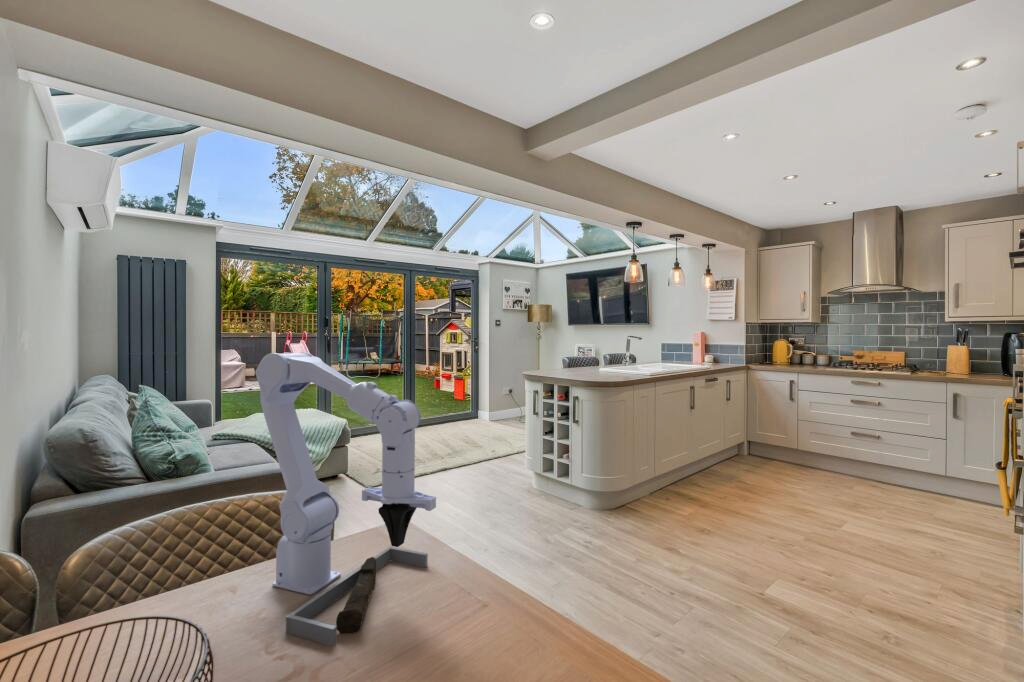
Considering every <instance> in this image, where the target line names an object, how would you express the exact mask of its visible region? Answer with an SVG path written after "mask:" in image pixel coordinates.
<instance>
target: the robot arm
mask: <svg viewBox="0 0 1024 682" xmlns="http://www.w3.org/2000/svg"><path fill="white" fill-rule="evenodd" d="M255 376H256V380H257V383H258V386H259V390H260V397H259V398H260V400H259V401H260V406H261V409H262V413H263V415H264V420H265V423H266V426H267V429H268V432H269V435H270V439H271V442H272V445H273V449H274V452H275V453H274V454H275V456H276V459H277V461H278V462H277V463H278V465H279V468H280V469H279V470H280V472H281V474H282V478H283V483H284V485H285V488H286V492H285V494H284V495H283V497H282V499H281V500H280V503H279V506H278V508H279V511H280V529H281V532H282V533H283V535H282V537H281V538H280V539H279V541H278V543H277V546H276V553H275V555H276V556H275V557H276V558H275V559H276V561H275V569H276V570H275V581H273V582H272V586H273V587H277V588H281V589H285V590H288V591H294V592H297V593H300V594H301V593H302V594H306V595H313V594H315V593H317V592H318V591H320V590H321V589H323V588H324V587H325V586H327V585H329V584H330V583H332V582H333V581H335V580H336V579H338V578H339V577H341V576H342V574H341V572H338V571H335V570H331V569H332V568H331V567H332V566H331V565H332V563H331V561H332V560H331V558H332V557H331V556H332V555H331V553H332V549H331V548H332V529H334V528H333V527H334V526H333V523H335V522H336V521H337V519H338V517H339V516H340V515H339V513H340V506H339V503H338V500H337V499H336V497H334V495H333V494H332V493H331V490H330V487H329V485H328V484H326V483H324V482H322V481H320V480H319V479H318V478H317V475H316V471H315V469H314V466H313V463H312V462H313V461H312V459H311V456H310V452H309V449H308V446H307V443H306V439H305V437H304V436H305V435H304V433H303V430H302V426H301V424H300V420H299V417H298V413H297V411H296V408H295V402H296V401H297V398H298V397H299V395H300V394H301V393H302V392H303V391H304V390H305V389H307V387H308V386H309V385H310V384H311V383H313V384H314V385H317V386H319V387H321V388H323V389H325V390H327V391H329V392H330V393H333V394H335V395H337V396H339V397H340V398H343V399H345V400H346V404H347V408H348V409H349V410H351V411H352V412H354V413H356V414H357V415H360V416H361V417H363V418H365V419H366V420H368V421H370V422H372V423H373V424H375V426H376V428H377V430H378V432H379V433H380V436H381V443H382V444H381V445H382V453H381V454H382V455H381V457H382V459H381V461H382V462H381V487H370V486H369V487H366V488H364V489H362V490H361V501H364V502H368V501H373V502H378V503H379V502H380V503H381V504H382V506H380V507H379V508H378V514H379V516H380V517H381V519H382V521H383V522H384V525H385V528H386V529H387V533H388V537H389V541H390V544H391V545H390V546H391V547H395V548H400V546H401V545H403V544H405V540H406V534H407V531H408V528H409V524H410V523H411V520H412V517H413V515H414V513H415V512H416V510H417V508H418V509H424V510H425V511H427V512H431V511H433V510H434V509H436V508H437V496H433V495H429V494H426V493H423V492H420V491H417V490H415V481H416V480H415V475H416V474H415V471H416V470H415V469H416V465H415V463H416V459H415V458H416V430H415V429H416V428H417V427H418V426H419V424H420V423H421V412H420V409H419V408H418V405H416V404H415V403H414V402H413V401H412V400H410V399H402V400H399V399H398V396H397V395H395V394H389V393H387V392H385V391H384V390H382V389H379V388H378V387H377V386H378V384H377V383H376V382H374V381H368V382H367V381H361V382H358V383H357V382H354V381H353V380H352V379H350V378H348V377H347V376H345V375H344V374H342V373H341V372H339V371H338V370H336V369H335V368H333V367H331V366H330V365H328V364H327V363H325V362H324V361H323V360H322V359H321V358H320V357H318V356H314V355H313V354H311V353H310V352H306V351H305V352H303V351H301V352H297V353H296V352H295V353H293V352H291V353H279V352H278V353H277V352H269V353H267V354H266V355H265V356H263V358H262V359H261V360H260V362H259V364H258V366H257V367H256V370H255ZM307 499H308V500H307Z"/></svg>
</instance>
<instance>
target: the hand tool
mask: <svg viewBox="0 0 1024 682" xmlns="http://www.w3.org/2000/svg"><path fill="white" fill-rule="evenodd" d="M374 557H375V556H371V557H368V558H366V560H365V561H364V563H363V564H362V565H361V566H362V567H361V569H360V576H359V578H358V580H357V583H356V584H355V586H354V587H353V588H352V589H351V590H352V591H351V592H350V594H349V597H347V600H346V603H345V605H344V607H343V609H342V610H341V611H339V612H338V614H337V616H336V619H335V620H336V621H335V624H336V625H335V626H337V631H338V633H339V634H341V635H342V634H345V635H347V634H349V635H350V634H356V633H358V632H360V631H361V628H362V623H363V621H364V614H365V613H366V609H367V607H368V605H369V601H370V598H371V595H372V592H373V591H374V590H375V588H376V582H377V574H378V573H377V571H376V560H375V558H374Z"/></svg>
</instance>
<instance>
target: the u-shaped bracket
mask: <svg viewBox="0 0 1024 682" xmlns="http://www.w3.org/2000/svg"><path fill="white" fill-rule="evenodd" d="M428 555H429V554H428V553H427V552H423V551H422V552H421V551H415V550H412V549H411V550H410V549H406V548H405V549H404V548H400V547H395V546H389V547H387V548H386V549H384V550H382V551H380V552H379V553H378V554H376V555H375V556H373V557H374V558H375V560H376V572H377V571H378V570H379V569H381V568H383V567H384V566H385V565H387V564H388V563H390V562H391V561H390V560H392V562H395V561H397V563H400V562H401V564H405V563H407V564H406V565H411V564H412V566H416V565H418V566H417V567H421V566H424V567H423V568H426V566H427V567H428ZM386 563H387V564H386ZM361 567H362V565H360V566H359V567H357V568H356V569H354V570H353V571H352V572H350V573H348V574H347V575H345V576H344V577H342V578H341V579H339V580H338V581H337V582H335V583H334V584H332V585H331V586H329V587H328V588H326V589H325V590H323V591H322V592H320V593H318V594H317V595H315V596H314V597H313V598H311V599H310V600H308V601H307V602H305V603H304V604H303V605H301V606H300V607H297V609H295V610H294V611H292V612H291V613H289V614H288V615H286V616H285V633H286V634H289V635H292V636H296V637H301V638H303V639H306V640H310V641H313V642H318V643H321V644H325V645H329V646H332V647H333V646H335V645H336V644H337V637H338V636H337V631H338V630H337V625H333V624H329V623H325V622H321V621H318V620H315V619H313V618H314V617H315V616H316V615H317V614H319V613H320V612H321V611H323V610H324V609H326V608H328V607H329V606H330V605H332V604H333V603H334V602H336V601H337V600H338V599H340V598H342V597H343V596H344V595H346V593H348V592H350V591H351V590H353V588H354V586H355V584H356V583H357V580H358V578H359V576H360V569H361Z"/></svg>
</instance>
